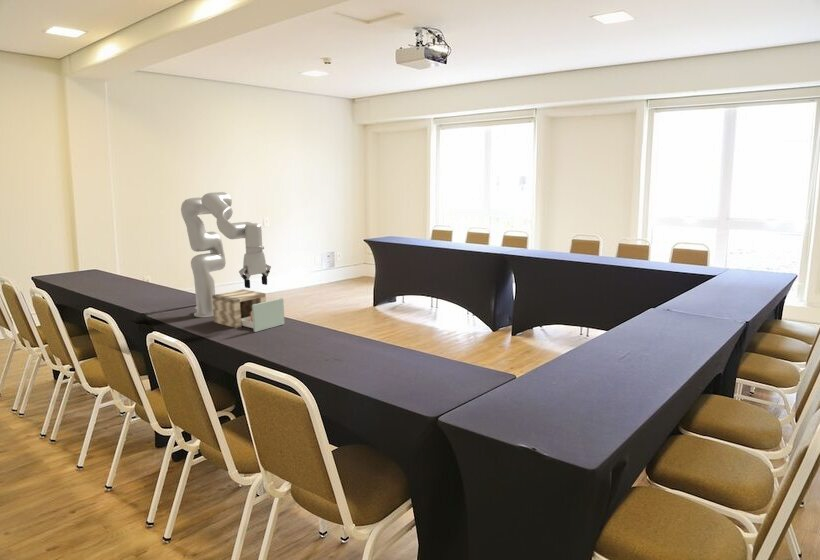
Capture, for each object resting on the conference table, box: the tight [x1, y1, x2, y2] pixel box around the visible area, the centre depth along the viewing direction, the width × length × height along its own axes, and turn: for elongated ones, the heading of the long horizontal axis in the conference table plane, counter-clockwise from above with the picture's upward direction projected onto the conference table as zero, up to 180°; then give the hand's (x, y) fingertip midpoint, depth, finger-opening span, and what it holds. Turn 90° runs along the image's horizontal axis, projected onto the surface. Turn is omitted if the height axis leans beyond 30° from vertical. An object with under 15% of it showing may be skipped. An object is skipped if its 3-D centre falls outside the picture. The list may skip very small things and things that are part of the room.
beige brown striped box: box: [212, 288, 267, 329], centre depth 282 cm, size 18×18×14 cm
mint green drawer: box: [241, 298, 285, 333], centre depth 273 cm, size 17×17×12 cm
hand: (256, 286), depth 271 cm, fingers open, 9 cm apart
